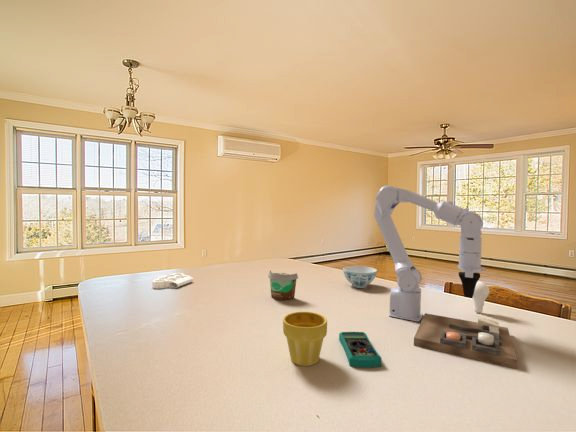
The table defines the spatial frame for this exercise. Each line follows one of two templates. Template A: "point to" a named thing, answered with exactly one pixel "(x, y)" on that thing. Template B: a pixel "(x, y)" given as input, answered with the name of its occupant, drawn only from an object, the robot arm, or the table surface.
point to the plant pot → (304, 336)
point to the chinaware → (359, 275)
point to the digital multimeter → (359, 350)
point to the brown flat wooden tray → (465, 340)
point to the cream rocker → (487, 322)
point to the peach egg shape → (453, 336)
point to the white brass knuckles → (171, 281)
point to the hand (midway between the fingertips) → (468, 296)
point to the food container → (282, 285)
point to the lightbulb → (480, 296)
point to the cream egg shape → (485, 338)
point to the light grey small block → (494, 332)
